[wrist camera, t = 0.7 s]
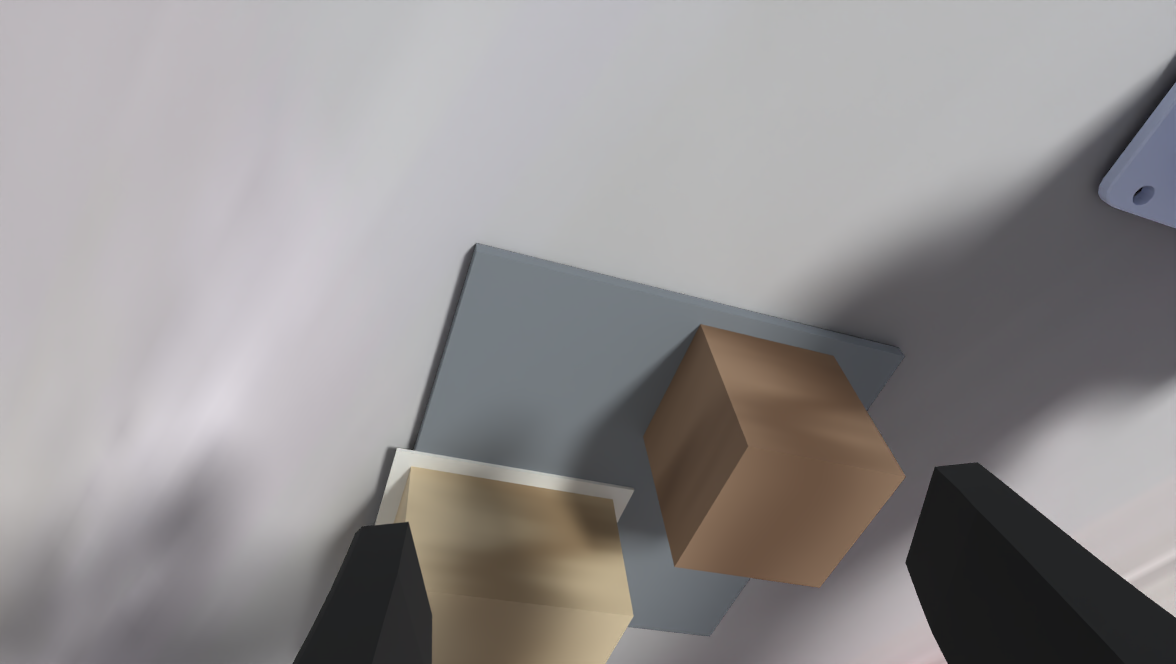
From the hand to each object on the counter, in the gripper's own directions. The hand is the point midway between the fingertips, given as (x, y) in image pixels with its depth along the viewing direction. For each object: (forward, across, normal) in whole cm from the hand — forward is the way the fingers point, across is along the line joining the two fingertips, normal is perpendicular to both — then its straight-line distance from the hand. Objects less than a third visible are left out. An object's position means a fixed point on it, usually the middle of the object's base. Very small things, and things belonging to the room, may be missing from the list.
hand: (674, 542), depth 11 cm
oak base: (+9, +4, +11) cm, 14 cm away
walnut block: (+9, -4, +6) cm, 11 cm away
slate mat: (+10, 0, +8) cm, 13 cm away
